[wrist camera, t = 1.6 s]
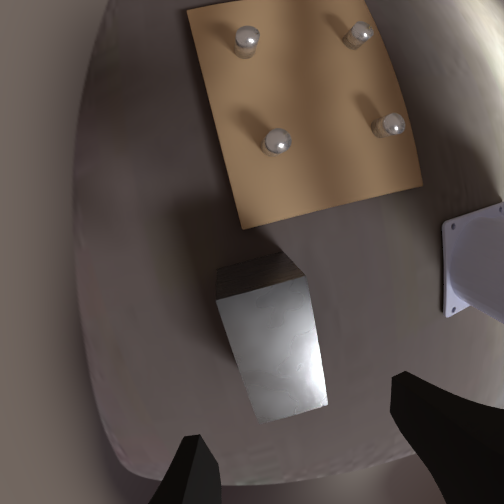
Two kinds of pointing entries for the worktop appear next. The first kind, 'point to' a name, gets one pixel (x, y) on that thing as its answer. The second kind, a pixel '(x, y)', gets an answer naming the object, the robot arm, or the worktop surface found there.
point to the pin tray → (303, 105)
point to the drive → (272, 335)
